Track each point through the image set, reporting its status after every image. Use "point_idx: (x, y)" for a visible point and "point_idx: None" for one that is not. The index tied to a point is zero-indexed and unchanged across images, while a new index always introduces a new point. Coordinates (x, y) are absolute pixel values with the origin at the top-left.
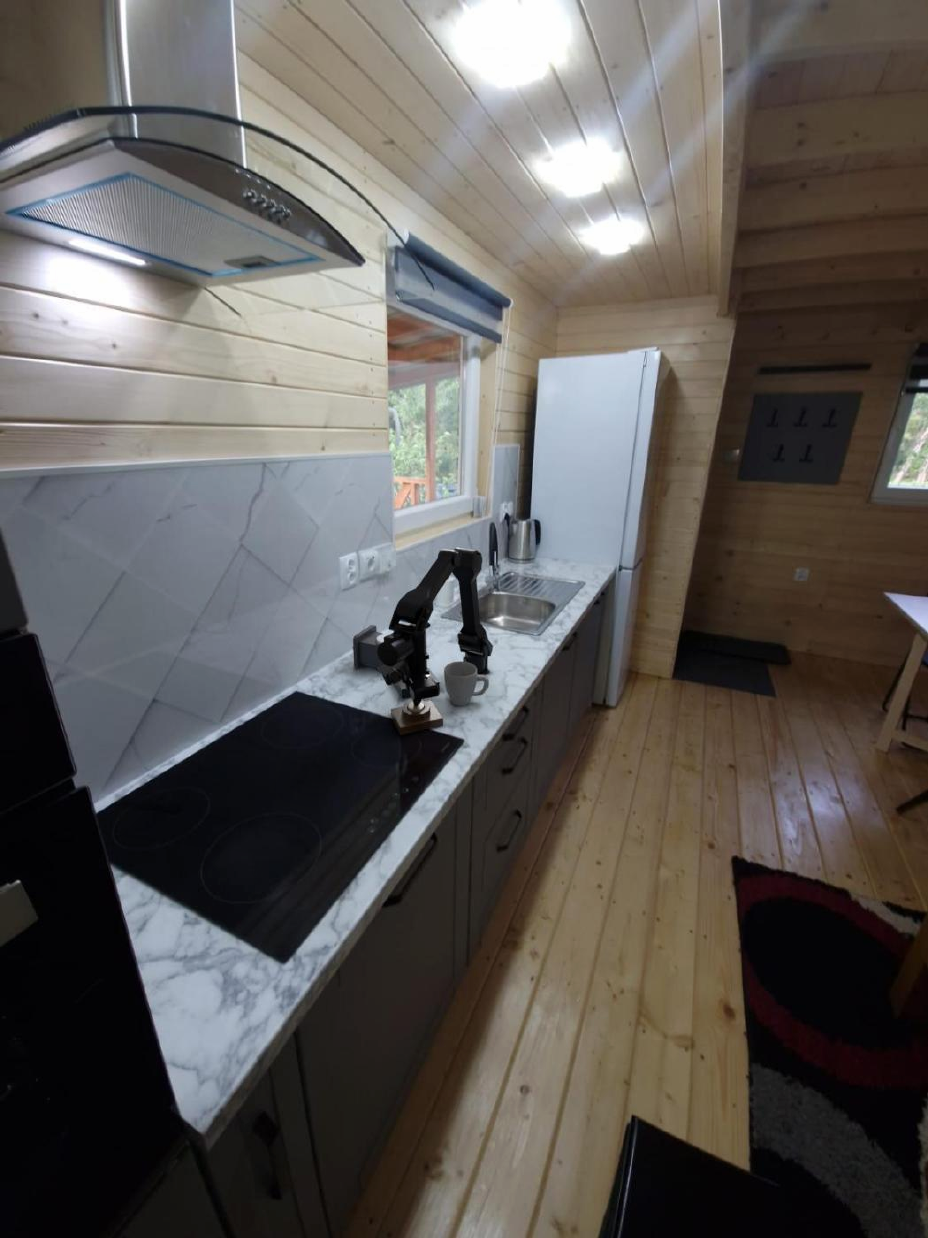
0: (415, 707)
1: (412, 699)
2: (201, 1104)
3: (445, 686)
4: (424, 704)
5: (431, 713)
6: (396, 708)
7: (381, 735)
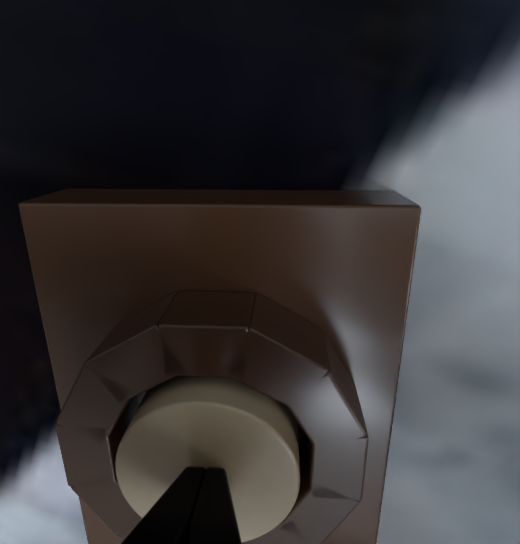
0: (171, 463)
1: (192, 536)
2: None
3: None
4: None
5: None
6: (394, 270)
7: (108, 7)
